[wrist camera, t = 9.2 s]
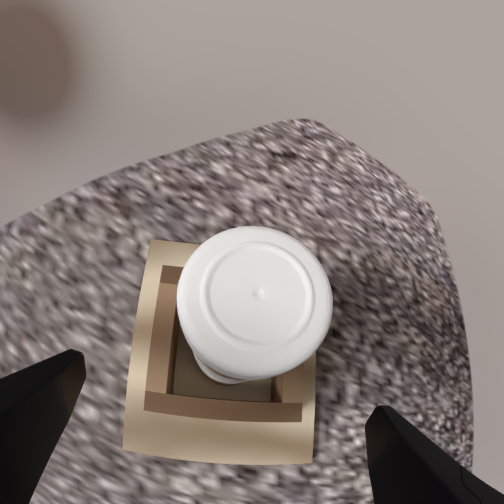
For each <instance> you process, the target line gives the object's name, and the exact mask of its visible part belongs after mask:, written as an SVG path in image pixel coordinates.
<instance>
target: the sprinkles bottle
mask: <svg viewBox="0 0 504 504" xmlns="http://www.w3.org/2000/svg"><path fill="white" fill-rule="evenodd" d="M177 310H178V316H179V320H180V324H181V328H182V330H183V333H184V336H185V338H186V340H187V342H188V344H189V346H190V347H191V349H192V350H193V353H194V356H195V360H196V364H197V366H198V368H199V369H200V371H201V372H202V374H203V375H204V376H205V377H206V378H208V379H209V380H210V381H212V382H214V383H216V384H219V385H224V386H230V385H237V384H240V383H243V382H246V381H249V380H259V379H265V378H270V377H274V376H277V375H280V374H283V373H285V372H287V371H290V370H292V369H293V368H295V367H297V366H299V365H300V364H302V363H303V362H304V361H306V360H307V359H308V358H309V357H311V356H312V355H313V353H314V352H315V351H316V350H317V349H318V347H319V346H320V345H321V343H322V342H323V340H324V338H325V336H326V334H327V332H328V329H329V326H330V323H331V318H332V311H333V296H332V290H331V286H330V282H329V279H328V277H327V274H326V272H325V270H324V268H323V267H322V265H321V263H320V262H319V260H318V259H317V258H316V256H315V255H314V254H313V253H312V252H311V251H310V250H309V249H308V248H307V247H306V246H305V245H304V244H302V243H301V242H300V241H298V240H297V239H295V238H293V237H292V236H290V235H288V234H286V233H283V232H281V231H278V230H275V229H271V228H267V227H259V226H244V227H237V228H233V229H229V230H226V231H223V232H221V233H219V234H217V235H214V236H213V237H211V238H210V239H208V240H207V241H206V242H204V243H202V244H201V245H200V246H199V247H198V248H197V249H196V250H195V251H194V253H193V254H192V255H191V256H190V258H189V259H188V261H187V263H186V264H185V266H184V268H183V270H182V273H181V276H180V279H179V282H178V287H177Z"/></svg>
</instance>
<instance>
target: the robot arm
mask: <svg viewBox="0 0 504 504" xmlns="http://www.w3.org/2000/svg"><path fill="white" fill-rule="evenodd" d="M85 379H86V368H85V360H84V355H83V353H82V352H79V351H77V350H74V349H69V350H66V351H64V352H62V353H59V354H57V355H55V356H52V357H50V358H48V359H45V360H43V361H41V362H38V363H36V364H34V365H31V366H29V367H27V368H24V369H22V370H20V371H17V372H15V373H12V374H10V375H8V376H5V377H3V378H1V379H0V504H29V502H30V500H31V497H32V495H33V493H34V491H35V488H36V486H37V484H38V482H39V479H40V477H41V475H42V473H43V471H44V469H45V467H46V465H47V463H48V460H49V458H50V456H51V454H52V452H53V450H54V448H55V446H56V444H57V442H58V440H59V438H60V436H61V434H62V433H63V431H64V429H65V427H66V425H67V423H68V421H69V419H70V417H71V414H72V412H73V409H74V406H75V404H76V401H77V399H78V396H79V394H80V391H81V389H82V386H83V384H84V381H85ZM365 434H366V446H367V460H368V469H369V475H370V481H371V486H372V492H373V498H374V504H504V494H502V493H500V492H499V491H497V490H495V489H494V488H492V487H491V486H489V485H488V484H486V483H485V482H483V481H482V480H480V479H479V478H477V477H476V476H475V475H473V474H472V473H471V472H469V471H468V470H467V469H466V468H464V467H463V466H462V465H460V464H459V463H458V462H457V461H456V460H454V459H453V458H452V457H451V456H450V455H448V454H447V453H446V452H445V451H443V450H442V449H441V448H440V447H439V446H437V445H436V444H435V443H434V442H432V441H431V440H430V439H429V438H428V437H426V436H425V435H424V434H423V433H422V432H420V431H419V430H418V429H417V428H416V427H414V426H413V425H412V424H411V423H410V422H408V421H407V420H406V419H405V418H404V417H402V416H401V415H400V414H399V413H398V412H396V411H395V410H394V409H393V408H392V407H390V406H388V405H379V406H377V407H376V408H375V409H374V411H373V413H372V414H371V416H370V417H369V419H368V420H367V422H366V425H365Z"/></svg>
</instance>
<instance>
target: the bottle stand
mask: <svg viewBox="0 0 504 504" xmlns="http://www.w3.org/2000/svg"><path fill="white" fill-rule="evenodd" d="M199 246H200V245H199V244H190V243H181V242H172V241H163V240H153V239H151V243H150V248H149V252H148V257H147V262H146V267H145V272H144V277H143V282H142V287H141V293H140V298H139V304H138V310H137V316H136V322H135V329H134V335H133V342H132V350H131V357H130V366H129V374H128V383H127V394H126V405H125V418H124V433H123V450H127V451H132V452H137V453H142V454H148V455H153V456H159V457H166V458H173V459H180V460H188V461H198V462H209V463H222V464H245V465H281V464H303V463H312V456H313V439H314V418H315V387H316V351H315V352H314V353H313V355H312V356H311V357H309V358H308V359H307V360H306V361H304V362H303V363H302V364H300V365H299V366H297V367H295V368H293V369H292V370H290V371H287V372H285V373H283V374H280V375H277V376H274V377H270V378H265V379H259V380H249V381H246V382H243V383H240V384H237V385H230V386H224V385H219V384H216V383H214V382H212V381H210V380H209V379H208V378H206V377H205V376H204V375H203V374H202V372H201V371H200V369H199V368H198V366H197V364H196V360H195V356H194V353H193V350H192V349H191V347H190V346H189V344H188V342H187V340H186V338H185V336H184V333H183V330H182V328H181V324H180V320H179V316H178V310H177V287H178V282H179V279H180V276H181V273H182V270H183V268H184V266H185V264H186V263H187V261H188V259H189V258H190V256H191V255H192V254H193V253H194V251H195V250H196V249H197V248H198V247H199Z"/></svg>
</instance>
